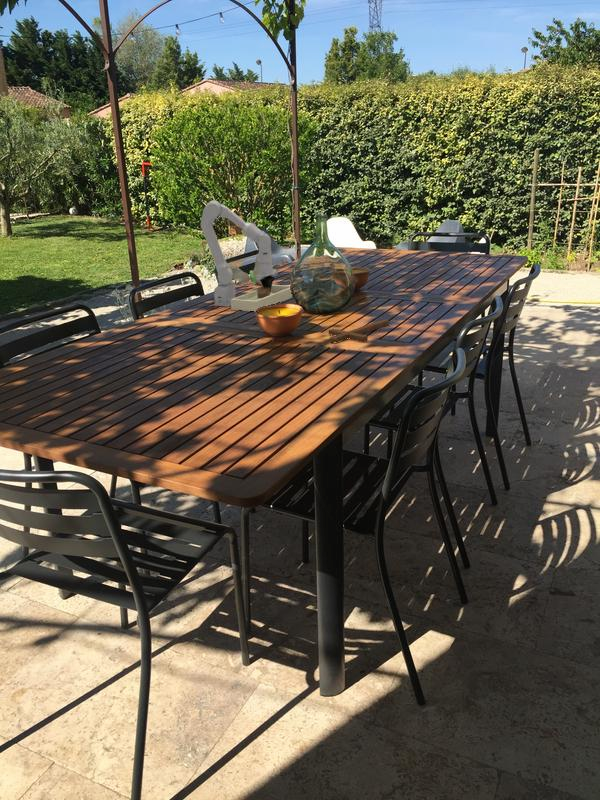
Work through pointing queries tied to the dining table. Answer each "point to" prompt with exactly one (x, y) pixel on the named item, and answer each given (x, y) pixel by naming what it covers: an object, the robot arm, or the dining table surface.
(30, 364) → the dining table surface
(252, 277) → the decorative bird
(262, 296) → the walnut block
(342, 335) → the cross
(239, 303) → the trap box
